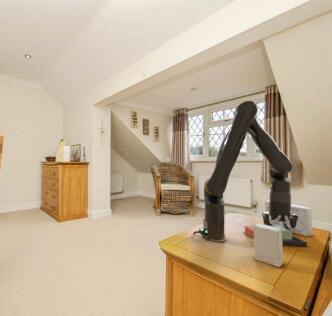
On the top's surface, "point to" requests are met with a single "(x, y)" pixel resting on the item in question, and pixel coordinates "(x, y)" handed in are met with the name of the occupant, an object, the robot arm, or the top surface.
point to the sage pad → (285, 232)
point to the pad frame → (294, 242)
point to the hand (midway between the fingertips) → (279, 234)
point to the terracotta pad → (249, 231)
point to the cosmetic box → (268, 244)
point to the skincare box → (303, 219)
